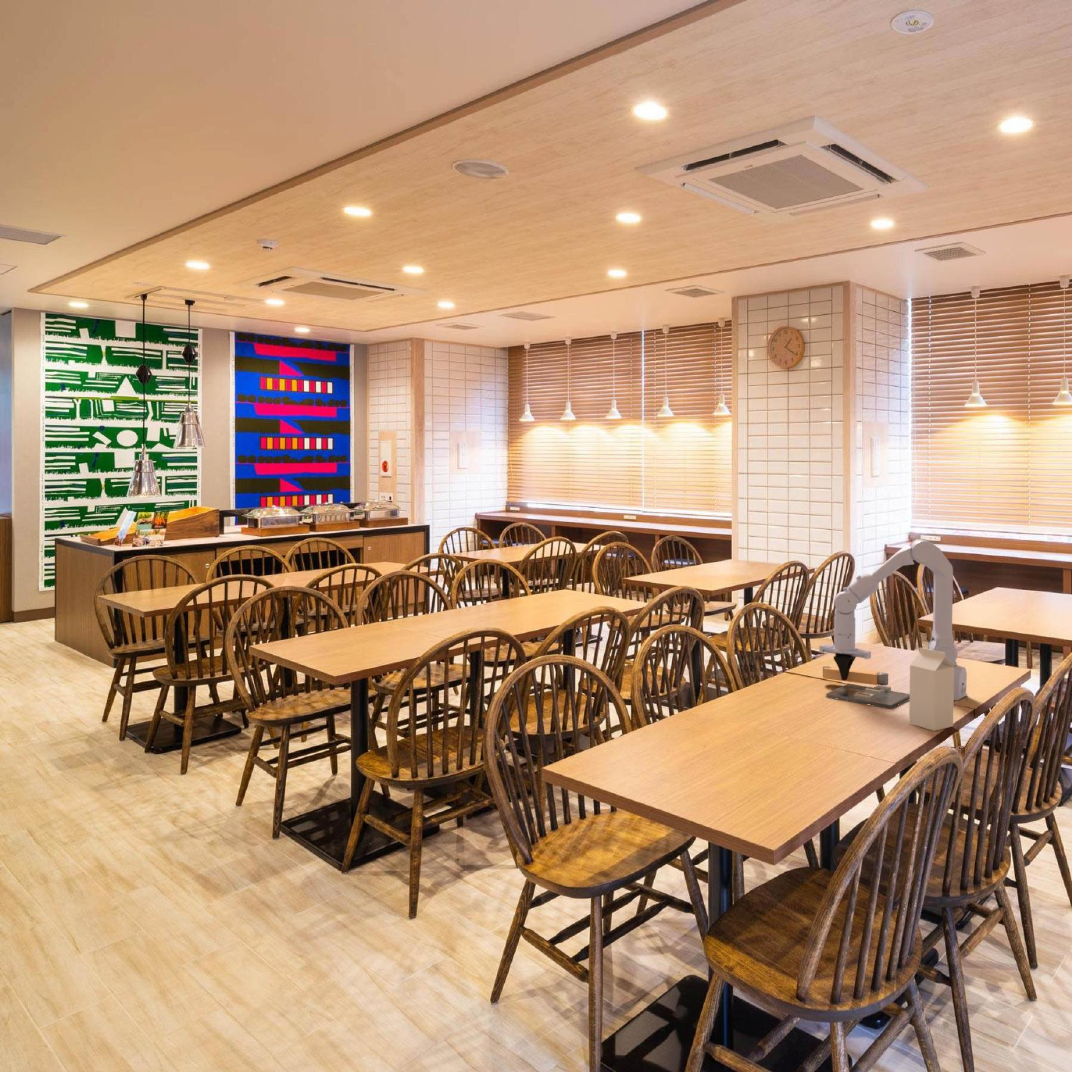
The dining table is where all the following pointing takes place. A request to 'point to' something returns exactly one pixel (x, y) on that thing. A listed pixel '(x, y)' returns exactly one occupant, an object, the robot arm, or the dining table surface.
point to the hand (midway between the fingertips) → (844, 679)
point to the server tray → (869, 695)
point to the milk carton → (931, 690)
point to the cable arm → (856, 676)
